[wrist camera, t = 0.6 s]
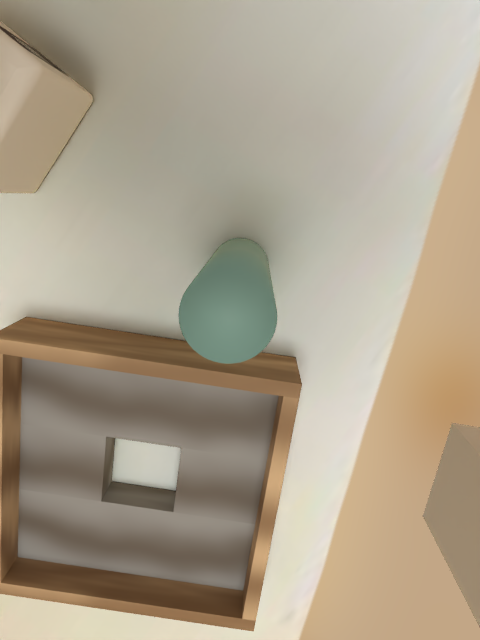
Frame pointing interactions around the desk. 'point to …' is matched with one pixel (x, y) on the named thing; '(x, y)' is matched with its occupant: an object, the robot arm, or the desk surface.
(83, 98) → the container
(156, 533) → the socket box
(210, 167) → the desk surface
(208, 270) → the peg
